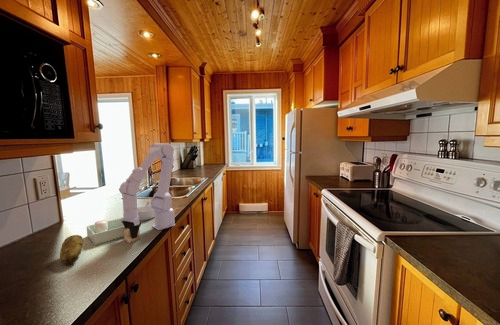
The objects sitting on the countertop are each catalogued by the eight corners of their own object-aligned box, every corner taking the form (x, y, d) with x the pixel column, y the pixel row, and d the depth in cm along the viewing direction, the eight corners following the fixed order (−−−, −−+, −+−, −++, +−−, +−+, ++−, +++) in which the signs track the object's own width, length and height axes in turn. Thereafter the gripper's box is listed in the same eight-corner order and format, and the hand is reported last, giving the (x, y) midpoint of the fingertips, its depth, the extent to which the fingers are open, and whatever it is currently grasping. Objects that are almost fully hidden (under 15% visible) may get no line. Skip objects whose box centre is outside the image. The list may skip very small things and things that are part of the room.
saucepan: (158, 209, 147) (158, 201, 147) (154, 220, 128) (154, 210, 128) (139, 211, 144) (138, 202, 144) (132, 222, 125) (131, 212, 125)
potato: (48, 269, 80) (46, 248, 80) (69, 251, 93) (67, 233, 92) (75, 266, 82) (73, 246, 81) (91, 249, 95) (90, 231, 94)
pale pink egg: (106, 233, 110) (105, 219, 109) (109, 236, 106) (108, 222, 105) (94, 236, 106) (93, 222, 105) (97, 239, 103) (96, 225, 102)
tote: (126, 225, 120) (125, 216, 119) (135, 233, 111) (135, 223, 110) (87, 236, 107) (86, 226, 107) (94, 245, 98) (93, 234, 98)
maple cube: (135, 235, 108) (135, 225, 108) (139, 238, 105) (139, 228, 104) (124, 239, 105) (123, 228, 104) (128, 242, 101) (127, 231, 101)
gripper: (115, 206, 105) (117, 234, 107) (126, 213, 95) (128, 244, 97) (131, 203, 110) (133, 229, 112) (143, 209, 100) (145, 238, 102)
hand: (132, 236), depth 105 cm, fingers closed on maple cube, 5 cm apart
